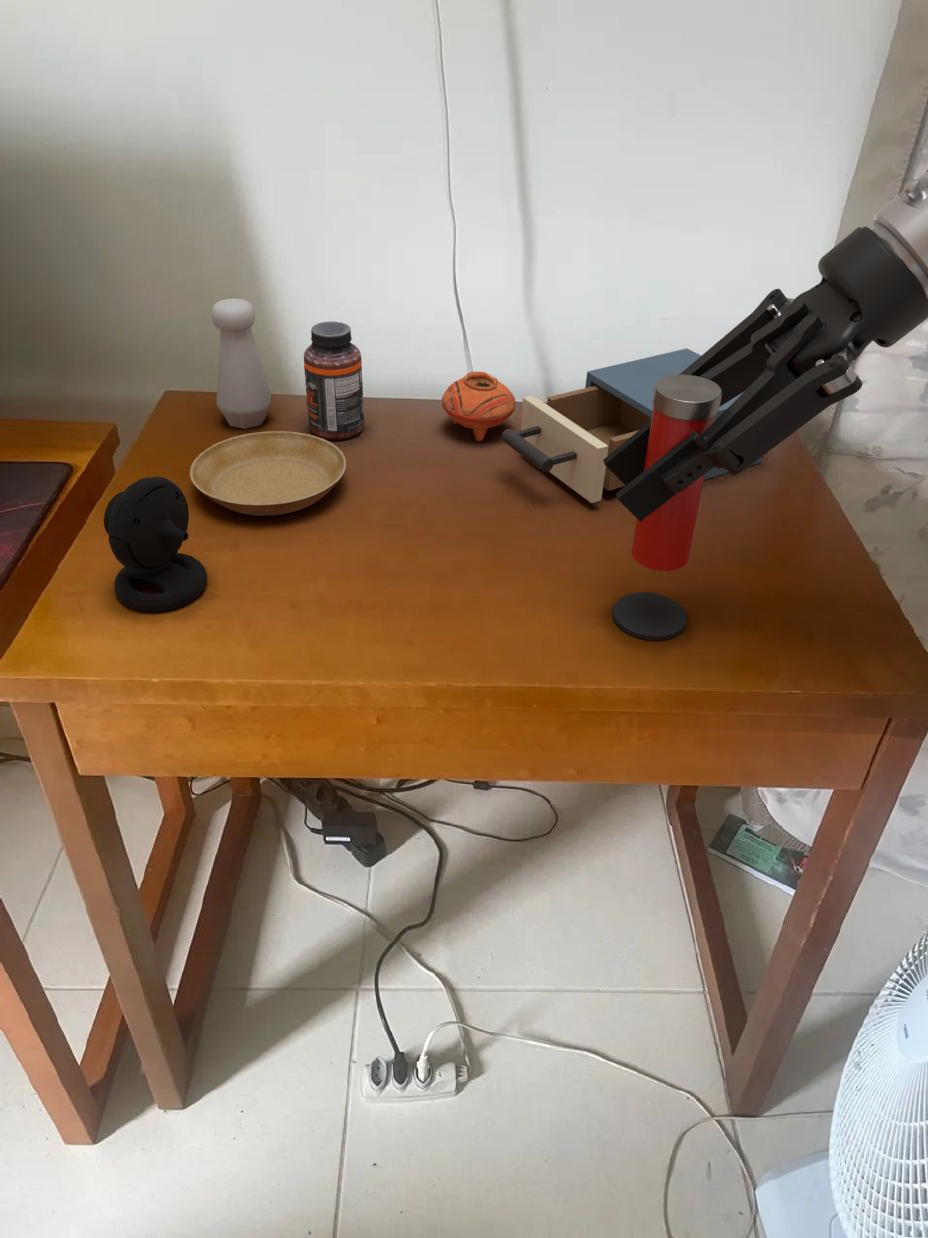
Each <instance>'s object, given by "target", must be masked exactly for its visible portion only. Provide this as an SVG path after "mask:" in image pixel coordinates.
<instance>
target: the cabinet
mask: <svg viewBox="0 0 928 1238" xmlns="http://www.w3.org/2000/svg"><path fill="white" fill-rule="evenodd" d="M700 356H702V354H700V353H697V352H695V351H694V350H691V349H689V348H688V347H687V348H682V349H678V350H674V351H670V352H665V353H660V354H657V355H656V354H655V355H652V356H647V357H644V358H638V359H635V360H630V361H626V362H622V363H617V364H614V365H609V366H605V367H600V368H596V369H592V370H588V371H586V379H585V387H584V388H588V387H592V386H596V385H598V386H600V387H601V388H603V389H605V390H606V391H608V392H610V393H611V394H613V395H615V396H616V397H618V398H619V399H621V400H623V401H624V402H626V403H628V404H629V405H631V406H633V407H634V408H636V409H638V410H639V411H641V412H642V413H644V414H646V415H647V416H649V417H651V418H652V414H653V407H654V406H653V397H654V391H655V385H656V382H657V381H658V380H659V379H661V378H663V377H666V376H671V375H679V374H680V373H682V372H683V371H684V370H685V369H686V368H687V367H689V366H690V365H691V364H692V363H693V362H695V361H696V360H697V359H698V358H699V357H700ZM741 394H742V393H741ZM741 394H739V395H738V396H736V397H735V398H733V399H731V400H730V401H728V402H727V403H725V404H724V405H722V406H720V407H719V411H718V413H717V414H716V419H717V418H718V417H719V416H720V415H721V414H722V413H723V412H724V411H725V410H726V409H727V408H728V407H729V406H730V405H731V404H732V403H733V402H734V401H735V400H736V399H737V398H738V397H739V396H740V395H741ZM716 419H715V420H716ZM738 454H739V453H738ZM763 459H764V455H763V456H762V457H760V458H759V459H758V460H756V461H755V462H754V463H752V464H751V465H750V466H749V467H751V466H754V465H757V464H761V463H763ZM728 473H729V474H730V472H729V471H728V470H726V469H724V468H722V467H721V468H716V467H714V468H712V469H710V470H709V471H708V472H706V473H705V476H704V481H706V480H709V479H712V478H716V477H719V476H722V475H726V474H728Z"/></svg>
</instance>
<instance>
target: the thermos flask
mask: <svg viewBox="0 0 928 1238" xmlns="http://www.w3.org/2000/svg"><path fill="white" fill-rule="evenodd" d="M721 396H722V390H721V388H720V386H719V385H717V384H716V383H715V382H713V381H711V380H708V379H706V378H702V377H698V376H692V375H671V376H666V377H663V378H661V379H659V380H658V381H657V382H656V385H655V391H654V397H653V406H654V407H653V414H652V420H651V427H650V433H649V440H648V447H647V453H646V460H645V467H644V471H645V470H646V469H648V468H649V467H650V466H651V465H653V464H654V463H655V462H656V461H658V460H659V459H660V458H661V457H663V456H664V455H665V454H666V453H668V452H669V451H670V450H671V449H673V448H674V447H675V446H676V445H678V444H679V443H680V442H681V441H683V440H684V439H685V438H686V437H688V436H689V435H690V433H691V431H692V430H694V431H695V432H697V433H698V434H699V435H701V434H702V433H703V432H704V431H705V430H706V429H707V428H708V427H709V426H710V425H711V424H712V423H713V422H714V421H715V419H716V414H717V413H718V411H719V406H720V401H721ZM704 476H705V474H704V475H703V476H701V477H700V478H699V479H697V480H696V481H695V482H693V483H692V484H691V485H689V486H688V487H687V488H686V489H685V490H683V491H682V492H680V493H678V494H676V495H674V496H673V497H672V498H671V499H669V500H668V501H667V502H665V503H664V504H663V505H662V506H660V507H659V508H658V509H656V510H655V511H654V512H653V513H651V514H650V515H649V516H647V517H646V518H645V519H644V520H642V521H641V522H640V521H639V520H638V519H637V518H636V519H635V520H636V521H635V527H634V534H633V541H632V546H631V547H632V548H631V556H632V558H633V560H635V562H637V563H638V564H639V565H641V566H642V567H644V568H647V569H650V570H653V571H658V572H671V571H676V570H679V569H680V570H681V569H682V568H684V567H685V566H686V565H687V564H688V561H689V558H690V553H691V549H692V548H691V547H692V542H693V538H694V532H695V527H696V522H697V517H698V511H699V508H700V507H699V506H700V501H701V495H702V491H703V487H704V481H705V480H704Z"/></svg>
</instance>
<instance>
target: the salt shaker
mask: <svg viewBox="0 0 928 1238" xmlns="http://www.w3.org/2000/svg"><path fill="white" fill-rule="evenodd" d="M254 307H255V306H254V305H253V304H251V303H250V302H249V301H247V299H242V298H225V299H222V300H218V301H217V302H215V304H214V305H213V306H212V309H211V319H212V324H213V325H214V327H216V328H217V329H218V330H219V347H218V348H219V349H218V352H219V353H218V370H217V371H218V372H217V387H216V406H217V409H218V410H219V411H220V413H221V414H222V415H223V416H224V418H225V420H226V421H227V423H228V425H229V427H234V428H239V429H244V430H246V429H251V428H255V427H259V426H261V425H262V424H263V423H264V421H265V419H266V417H267V414H268V412H269V410H270V407H271V403H272V393H271V391H270V387H269V384H268V380H267V377H266V374H265V371H264V366H263V364H262V360H261V357H260V354H259V351H258V347H257V344H256V339H255V336H254V334H253V331H252V327H253V326H255V322H256V311H255V308H254Z"/></svg>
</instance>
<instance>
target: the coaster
mask: <svg viewBox="0 0 928 1238" xmlns="http://www.w3.org/2000/svg"><path fill="white" fill-rule="evenodd" d="M611 616H612V620H613V622H614V624H615V625H616V626H617V628H618V629H619V630H621V631H622V632H623V633H625V634H626V635H629V636H631V637H633V638H635V639H639V640H644V641H651V642H657V641H658V642H660V641H661V642H662V641H666V640H670V639H674V638H676V637H677V636H679V635H680V634H681V633H682V632H683V631H684V630H685V628H686V625H687V620H688V617H687V614H686V611H685V609H684V608H683V607H682V606H681V604H679V602H677V601H676V600H674V599H672V598H670V597H669V596H665V595H663V594H659V593H655V592H647V591H646V592H645V591H643V592H641V591H640V592H631V593H629V594H625V595H623V596H621V597H620V598H618V600H616V601H615V603H614V604H613V607H612V613H611Z"/></svg>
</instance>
